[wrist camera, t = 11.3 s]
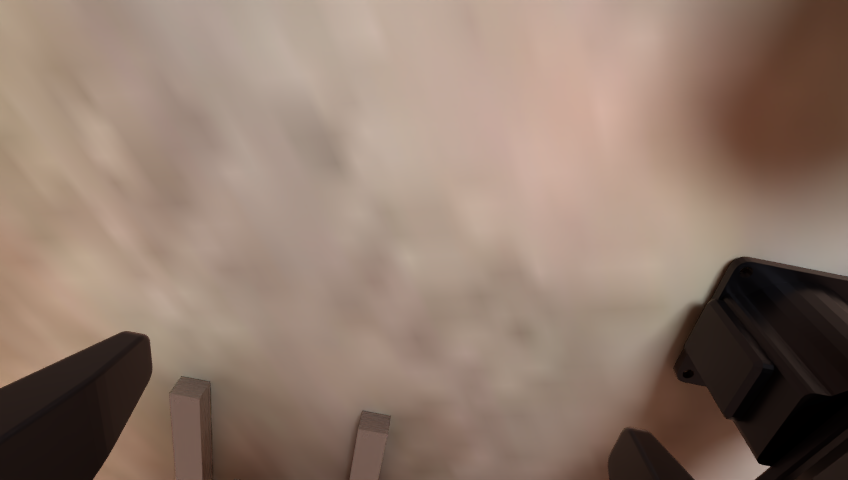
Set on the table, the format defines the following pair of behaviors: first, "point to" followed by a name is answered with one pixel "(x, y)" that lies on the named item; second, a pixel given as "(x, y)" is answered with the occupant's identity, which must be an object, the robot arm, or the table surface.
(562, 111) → the table surface
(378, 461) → the channel
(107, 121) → the table surface
